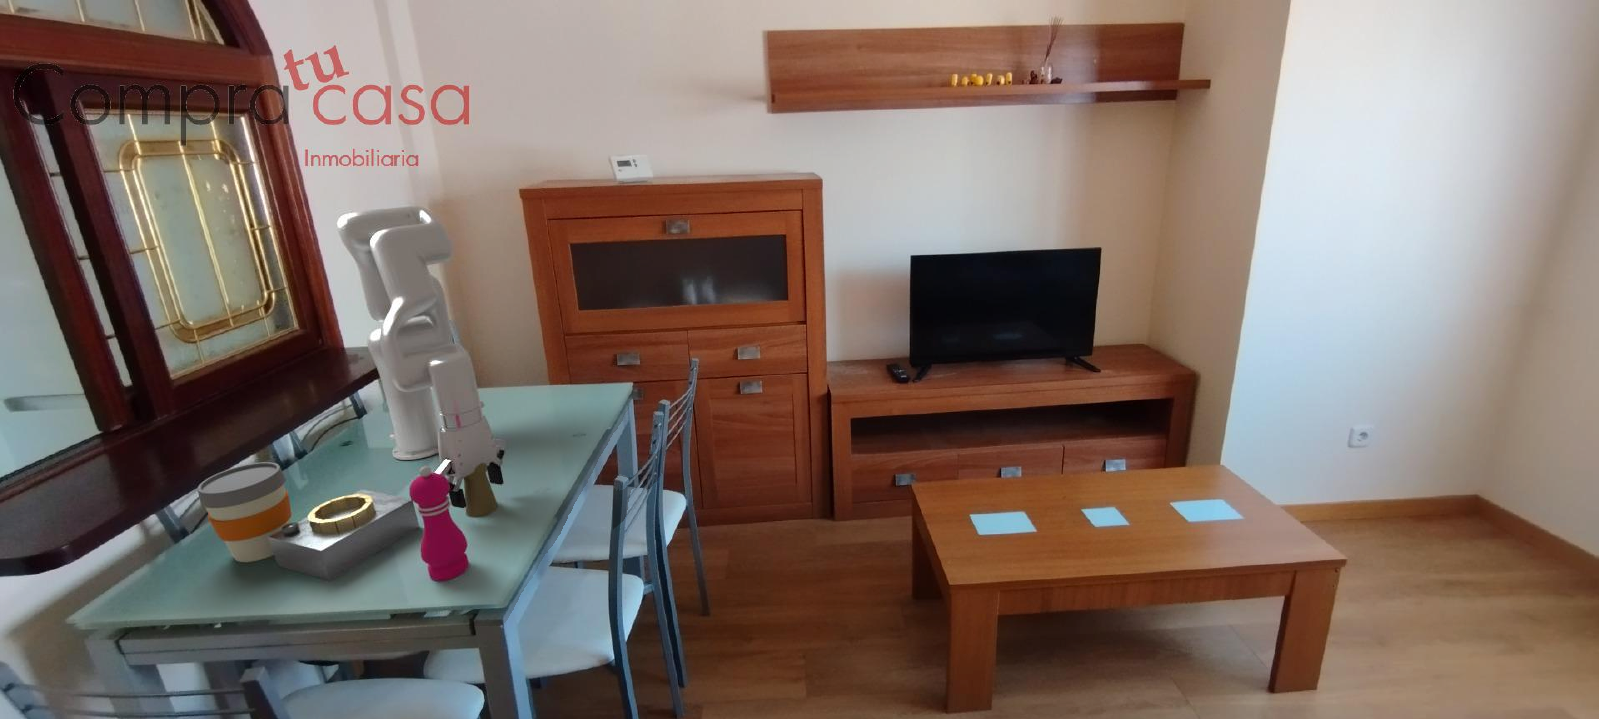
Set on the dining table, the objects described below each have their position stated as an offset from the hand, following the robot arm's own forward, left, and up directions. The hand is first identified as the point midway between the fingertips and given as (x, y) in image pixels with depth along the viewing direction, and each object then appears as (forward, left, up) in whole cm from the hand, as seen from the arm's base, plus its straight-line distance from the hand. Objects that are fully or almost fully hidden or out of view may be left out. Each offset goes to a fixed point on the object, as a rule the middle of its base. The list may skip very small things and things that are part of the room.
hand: (478, 494), depth 140 cm
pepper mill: (+11, -18, -4) cm, 21 cm away
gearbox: (-14, -18, -3) cm, 23 cm away
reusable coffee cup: (-30, -24, -4) cm, 39 cm away
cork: (0, 0, -4) cm, 4 cm away
